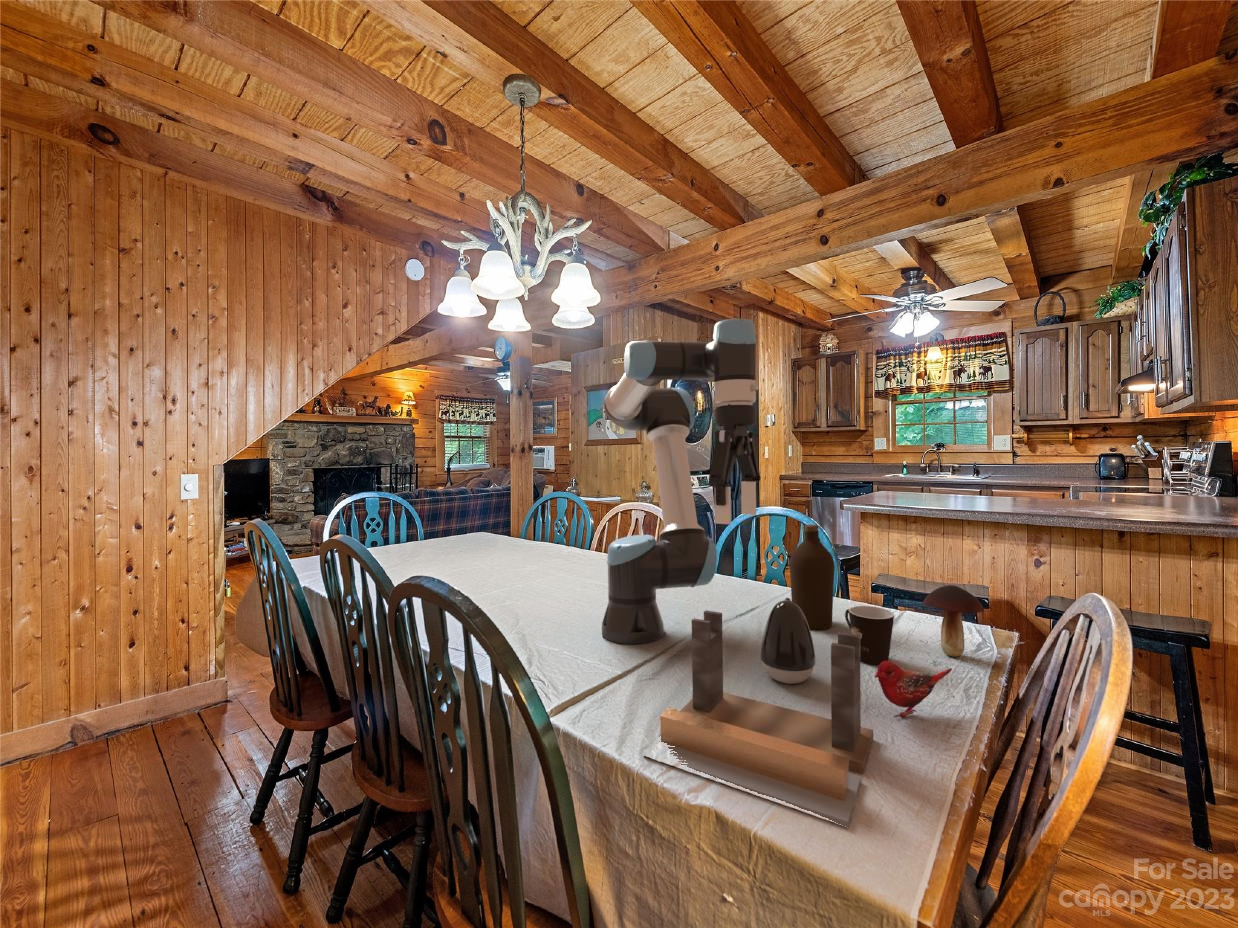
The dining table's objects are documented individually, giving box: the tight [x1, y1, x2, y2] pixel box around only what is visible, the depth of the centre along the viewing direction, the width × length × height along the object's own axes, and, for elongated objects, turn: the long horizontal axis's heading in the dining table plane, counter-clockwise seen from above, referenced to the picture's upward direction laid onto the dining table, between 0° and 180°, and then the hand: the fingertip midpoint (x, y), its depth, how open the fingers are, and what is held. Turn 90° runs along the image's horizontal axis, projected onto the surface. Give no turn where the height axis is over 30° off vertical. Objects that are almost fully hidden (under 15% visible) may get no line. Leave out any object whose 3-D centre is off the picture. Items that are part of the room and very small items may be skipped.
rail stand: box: [680, 609, 874, 775], centre depth 84 cm, size 28×10×16 cm, turn 57°
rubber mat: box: [658, 733, 862, 828], centre depth 74 cm, size 28×10×1 cm, turn 57°
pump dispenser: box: [759, 597, 817, 685], centre depth 102 cm, size 10×10×15 cm
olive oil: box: [789, 523, 836, 631], centre depth 132 cm, size 11×11×25 cm
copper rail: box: [659, 707, 850, 802], centre depth 74 cm, size 26×3×4 cm, turn 57°
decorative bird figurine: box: [874, 660, 953, 718], centre depth 88 cm, size 3×18×10 cm, turn 111°
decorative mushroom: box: [922, 584, 985, 658], centre depth 111 cm, size 11×11×15 cm
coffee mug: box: [844, 605, 895, 667], centre depth 112 cm, size 12×9×10 cm
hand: (736, 518), depth 99 cm, fingers open, 13 cm apart
